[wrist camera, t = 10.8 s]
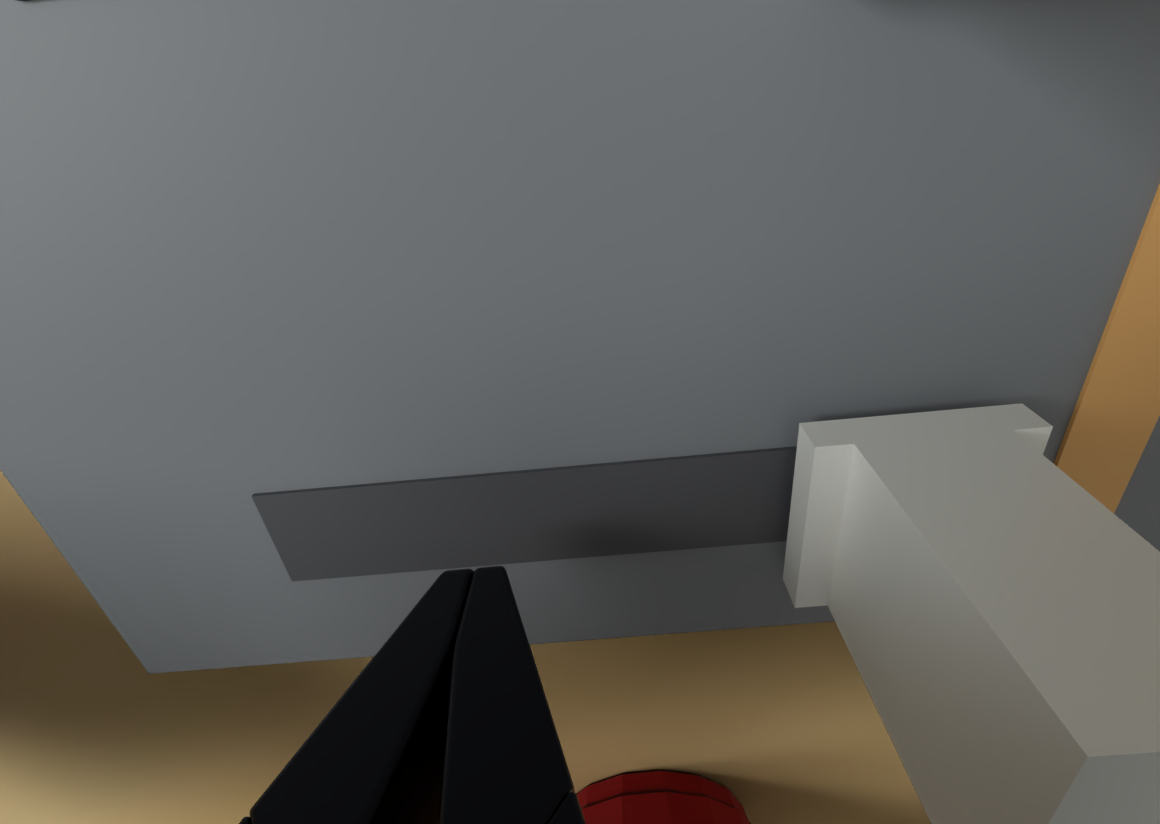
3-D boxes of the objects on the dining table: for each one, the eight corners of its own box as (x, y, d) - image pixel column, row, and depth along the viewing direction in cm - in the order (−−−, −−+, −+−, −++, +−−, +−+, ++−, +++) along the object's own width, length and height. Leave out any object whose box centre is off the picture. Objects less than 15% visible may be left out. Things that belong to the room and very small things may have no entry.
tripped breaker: (782, 578, 10) (929, 935, 6) (799, 422, 8) (1015, 761, 4) (970, 563, 10) (1253, 917, 6) (1022, 403, 8) (1459, 731, 4)
